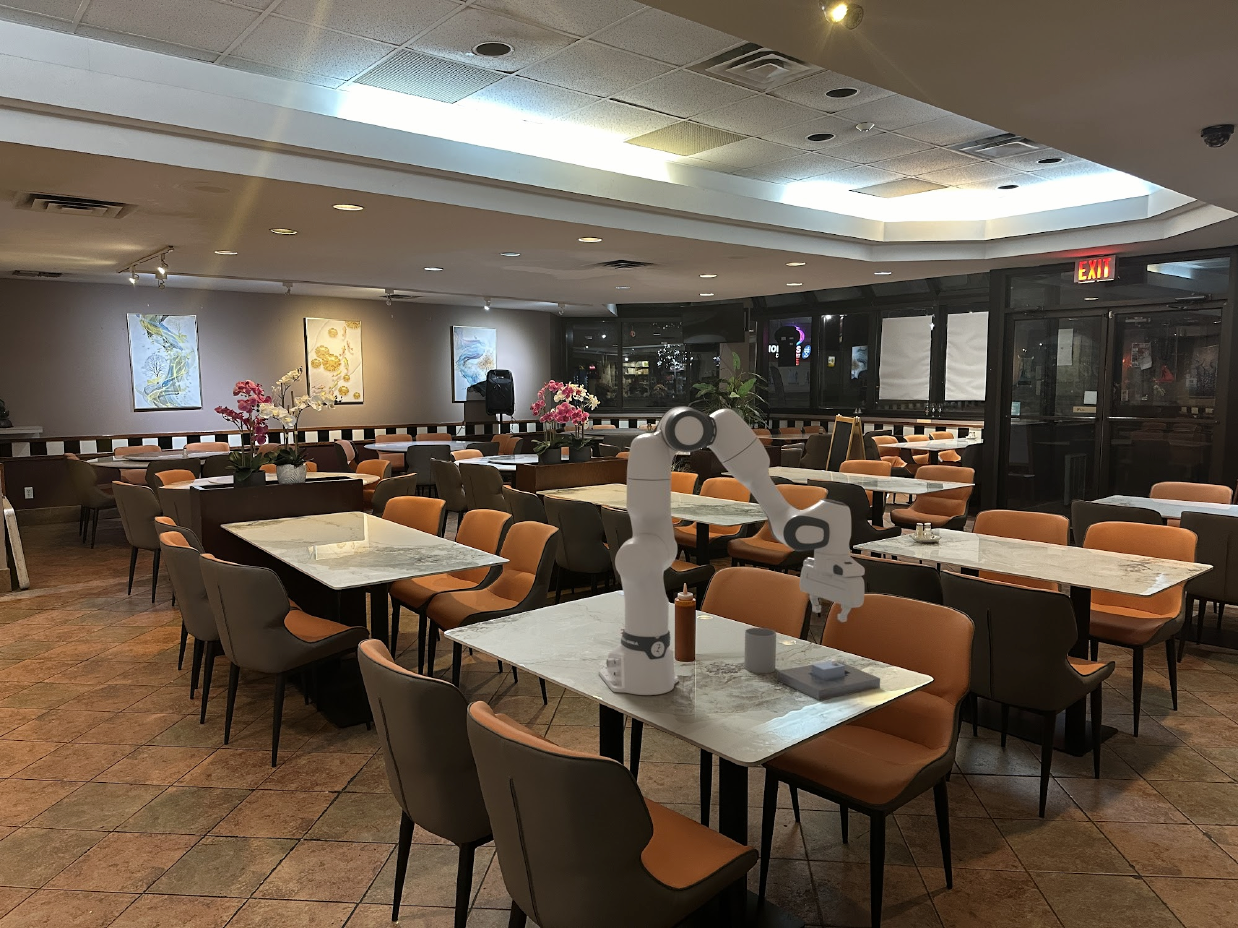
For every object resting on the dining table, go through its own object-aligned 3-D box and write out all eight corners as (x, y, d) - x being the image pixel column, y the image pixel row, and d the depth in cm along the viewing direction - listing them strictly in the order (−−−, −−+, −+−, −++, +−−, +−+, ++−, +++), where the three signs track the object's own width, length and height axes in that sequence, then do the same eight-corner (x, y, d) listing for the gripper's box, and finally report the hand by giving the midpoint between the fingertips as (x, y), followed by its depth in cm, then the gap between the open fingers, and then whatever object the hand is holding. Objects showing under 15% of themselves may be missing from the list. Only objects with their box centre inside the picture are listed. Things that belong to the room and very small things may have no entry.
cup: (741, 670, 218) (742, 634, 217) (747, 661, 226) (748, 626, 225) (772, 674, 215) (773, 637, 214) (777, 665, 223) (778, 629, 222)
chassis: (777, 680, 210) (777, 670, 210) (835, 669, 220) (836, 660, 220) (818, 700, 196) (819, 690, 196) (879, 687, 206) (880, 678, 205)
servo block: (811, 683, 208) (811, 660, 208) (836, 678, 212) (837, 656, 212) (823, 688, 204) (823, 665, 204) (848, 683, 208) (849, 660, 208)
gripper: (795, 556, 213) (792, 607, 215) (850, 571, 195) (847, 628, 197) (813, 554, 216) (811, 605, 217) (869, 569, 198) (867, 625, 199)
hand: (829, 616), depth 207 cm, fingers open, 8 cm apart
